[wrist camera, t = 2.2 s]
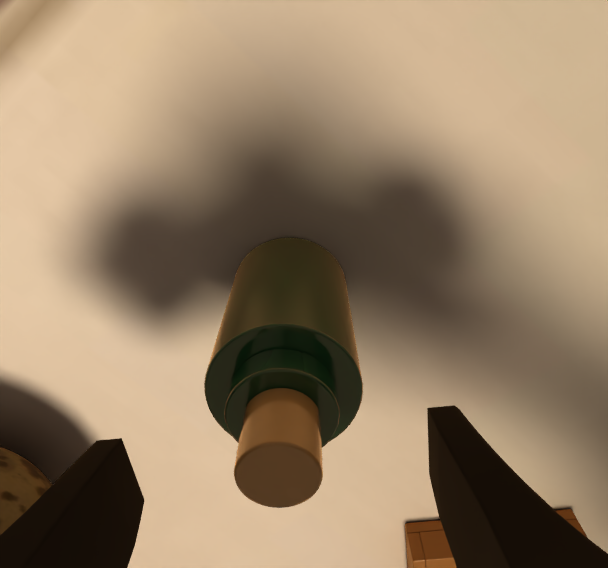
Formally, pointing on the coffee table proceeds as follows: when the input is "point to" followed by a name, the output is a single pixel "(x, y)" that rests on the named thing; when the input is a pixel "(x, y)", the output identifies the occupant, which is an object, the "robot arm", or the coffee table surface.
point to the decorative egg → (18, 487)
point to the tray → (444, 542)
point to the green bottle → (284, 369)
